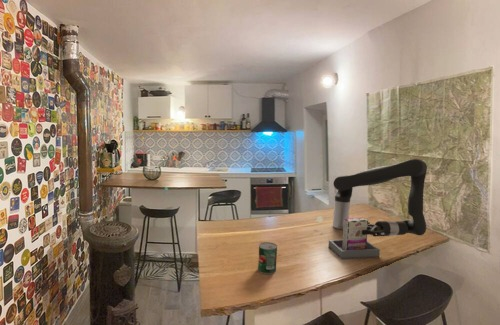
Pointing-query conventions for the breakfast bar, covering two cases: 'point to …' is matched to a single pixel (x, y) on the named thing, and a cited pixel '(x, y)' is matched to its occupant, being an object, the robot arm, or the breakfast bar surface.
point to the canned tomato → (267, 258)
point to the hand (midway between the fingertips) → (357, 229)
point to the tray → (353, 251)
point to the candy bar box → (354, 234)
